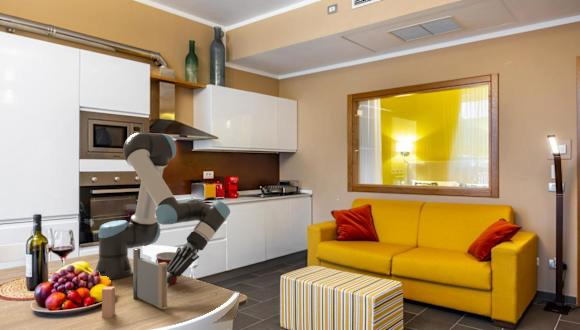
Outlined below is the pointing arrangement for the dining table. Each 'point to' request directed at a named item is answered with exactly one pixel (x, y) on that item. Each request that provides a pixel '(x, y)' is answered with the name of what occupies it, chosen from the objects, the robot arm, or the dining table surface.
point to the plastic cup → (166, 261)
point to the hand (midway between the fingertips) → (158, 290)
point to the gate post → (135, 271)
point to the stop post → (108, 301)
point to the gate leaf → (152, 282)
